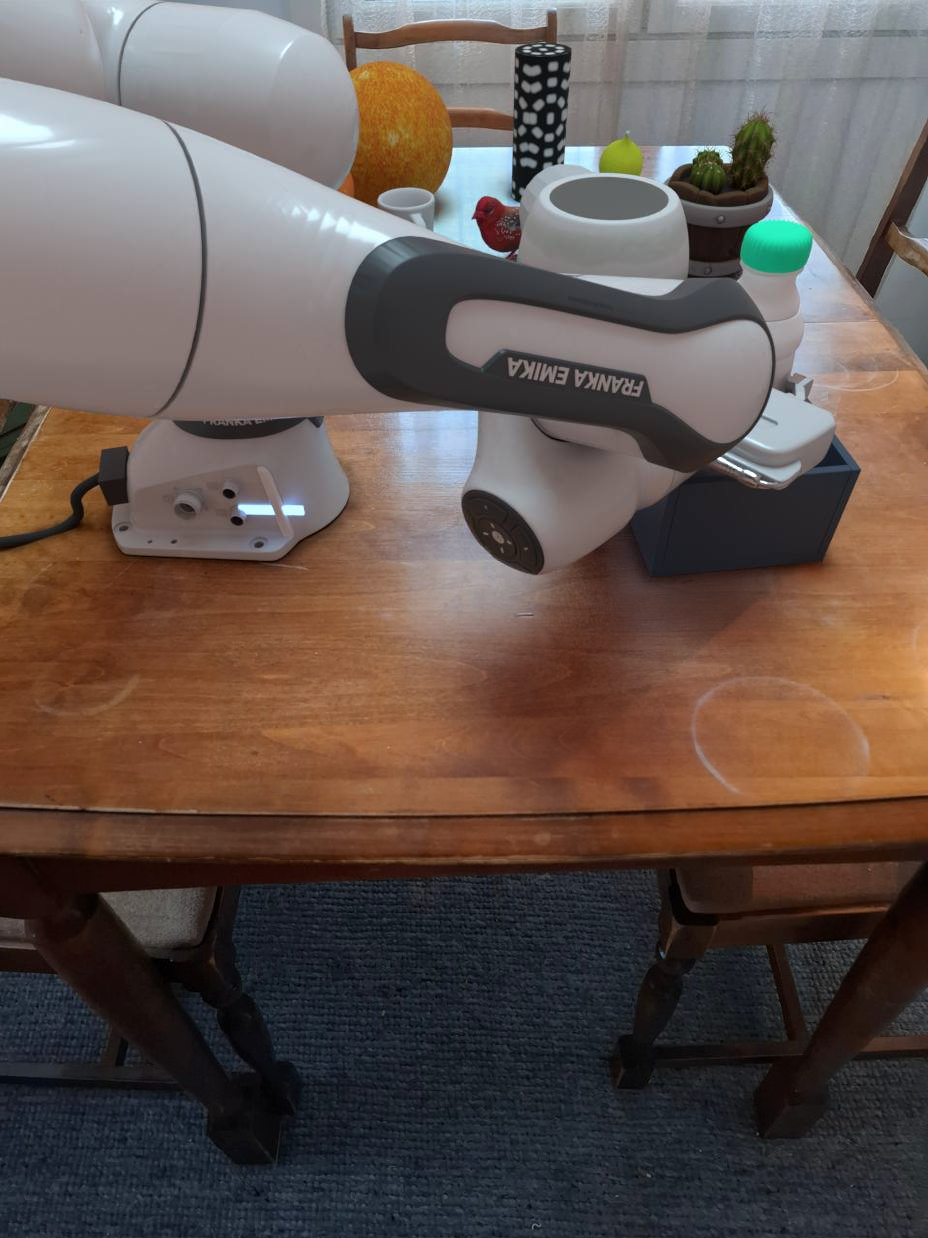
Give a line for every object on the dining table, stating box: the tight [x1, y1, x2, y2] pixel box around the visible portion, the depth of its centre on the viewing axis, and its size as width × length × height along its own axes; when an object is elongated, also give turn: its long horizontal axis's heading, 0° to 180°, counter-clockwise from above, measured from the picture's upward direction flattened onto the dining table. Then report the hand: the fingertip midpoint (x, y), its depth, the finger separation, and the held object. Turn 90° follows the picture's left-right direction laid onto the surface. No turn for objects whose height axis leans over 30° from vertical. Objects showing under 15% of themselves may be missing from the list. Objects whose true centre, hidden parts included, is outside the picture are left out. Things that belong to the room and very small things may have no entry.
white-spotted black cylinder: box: [511, 42, 573, 203], centre depth 124 cm, size 8×8×20 cm
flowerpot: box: [662, 103, 782, 279], centre depth 105 cm, size 14×15×20 cm
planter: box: [516, 172, 689, 280], centre depth 79 cm, size 16×16×22 cm
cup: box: [377, 188, 436, 232], centre depth 112 cm, size 11×8×8 cm
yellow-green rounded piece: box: [598, 130, 644, 177], centre depth 130 cm, size 7×7×10 cm
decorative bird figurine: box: [471, 195, 522, 261], centre depth 111 cm, size 3×18×10 cm, turn 132°
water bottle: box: [689, 219, 814, 478], centre depth 65 cm, size 7×7×25 cm
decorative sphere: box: [348, 60, 454, 209], centre depth 121 cm, size 20×20×20 cm
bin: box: [628, 397, 862, 578], centre depth 72 cm, size 16×16×10 cm
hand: (750, 362), depth 65 cm, fingers open, 8 cm apart
